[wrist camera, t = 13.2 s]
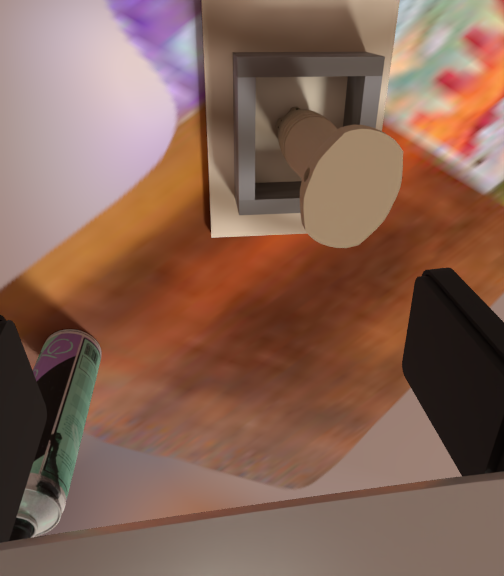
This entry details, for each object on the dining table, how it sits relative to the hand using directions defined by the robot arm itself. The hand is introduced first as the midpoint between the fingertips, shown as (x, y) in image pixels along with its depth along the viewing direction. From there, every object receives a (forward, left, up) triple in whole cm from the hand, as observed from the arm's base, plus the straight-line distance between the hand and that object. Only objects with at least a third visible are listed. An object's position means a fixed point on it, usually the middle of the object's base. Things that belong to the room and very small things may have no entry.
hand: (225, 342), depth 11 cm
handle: (+1, +7, -29) cm, 30 cm away
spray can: (+22, -13, -30) cm, 40 cm away
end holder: (+1, +8, -30) cm, 31 cm away
